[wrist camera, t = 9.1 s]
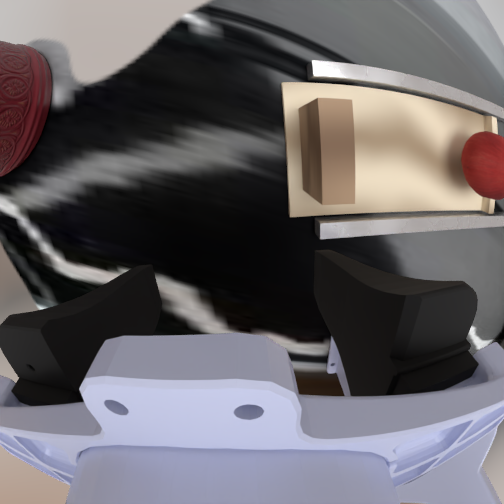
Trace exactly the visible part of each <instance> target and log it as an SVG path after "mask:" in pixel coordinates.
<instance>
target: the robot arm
mask: <svg viewBox="0 0 504 504" xmlns="http://www.w3.org/2000/svg"><path fill="white" fill-rule="evenodd" d="M314 295H315V298H316V302H317V305H318V308H319V310H320V312H321V315H322V317H323V319H324V321H325V323H326V325H327V327H328V329H329V331H330V333H331V342H330V349H329V356H328V363H327V372H328V373H329V374H331V373H337V376H338V378H339V381H340V384H341V387H342V389H343V392H344V395H345V396H315V395H299V393H298V388H297V384H296V379H295V375H294V370H293V366H292V363H291V360H290V358H289V355H288V353H287V350H286V348H284V347H283V346H281V345H279V344H278V343H276V342H274V341H273V340H271V339H270V338H268V337H266V336H261V335H252V334H244V333H224V334H205V335H176V336H153V334H154V331H155V329H156V326H157V323H158V320H159V316H160V311H161V306H162V301H161V298H160V294H159V290H158V286H157V282H156V278H155V274H154V270H153V265H140V266H137V267H135V268H133V269H131V270H129V271H127V272H125V273H123V274H122V275H120V276H118V277H116V278H115V279H113V280H111V281H110V282H108V283H106V284H104V285H102V286H101V287H99V288H97V289H95V290H93V291H91V292H89V293H87V294H85V295H83V296H81V297H78V298H76V299H74V300H71V301H68V302H65V303H62V304H60V305H57V306H53V307H50V308H46V309H42V310H38V311H33V312H26V313H20V314H13V315H10V316H8V317H7V318H6V320H5V321H4V322H3V323H2V324H1V325H0V348H1V350H2V351H3V354H4V355H5V357H6V358H7V360H8V362H9V363H10V365H11V366H12V368H13V369H14V371H15V372H16V374H17V375H18V377H19V379H18V381H17V383H15V382H14V381H13V380H11V379H9V378H7V377H4V376H1V375H0V445H1V446H2V447H3V448H4V449H5V450H6V451H8V452H9V453H10V454H12V455H14V456H15V457H17V458H19V459H21V460H23V461H24V462H26V463H27V464H29V465H31V466H33V467H35V468H36V469H38V470H40V471H42V472H44V473H46V474H47V475H50V476H51V477H53V478H56V479H58V480H59V481H61V482H64V483H66V484H68V485H70V489H69V493H68V496H67V500H66V504H400V502H405V503H426V504H502V503H501V501H500V499H499V497H498V495H497V493H496V491H495V489H494V487H493V486H492V484H491V482H490V480H489V478H488V476H487V475H486V473H485V471H484V469H483V467H482V463H483V461H484V459H485V457H486V455H487V453H488V451H489V449H490V447H491V444H492V442H493V440H494V438H495V435H496V432H497V426H498V425H499V424H500V423H501V422H502V420H503V419H504V349H503V348H502V347H501V346H500V345H499V344H498V343H497V342H494V343H492V344H490V345H488V346H486V347H484V348H482V349H480V350H478V351H477V352H476V353H475V354H474V355H473V356H472V355H471V354H470V352H469V351H468V350H469V349H470V347H471V345H470V343H469V342H468V341H467V340H466V337H467V335H468V333H469V330H470V328H471V325H472V323H473V320H474V317H475V314H476V311H477V301H478V299H477V295H476V292H475V291H474V290H473V288H471V287H470V286H469V285H468V284H466V283H465V282H464V281H432V280H421V279H414V278H409V277H403V276H399V275H394V274H391V273H387V272H384V271H381V270H378V269H375V268H372V267H369V266H367V265H364V264H362V263H359V262H357V261H355V260H353V259H350V258H348V257H346V256H344V255H341V254H339V253H337V252H334V251H331V250H319V251H315V262H314ZM332 363H333V364H332Z"/></svg>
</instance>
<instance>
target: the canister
mask: <svg viewBox="0 0 504 504" xmlns="http://www.w3.org/2000/svg"><path fill="white" fill-rule="evenodd" d="M51 90H52V80H51V72H50V68H49V65H48V62H47V61H46V59H45V58H44V56H43V55H42V54H40V53H39V52H37V51H36V50H35V49H34V48H32V47H29V46H26V45H23V44H17V45H15V44H11V43H7V42H3V41H0V177H1V176H4V175H6V174H7V173H9V172H10V171H12V170H14V169H16V168H17V167H18V166H20V165H21V164H22V163H23V162H24V161H25V160H26V159H27V157H28V156H29V155H30V153H31V152H32V150H33V149H34V147H35V145H36V143H37V142H38V139H39V137H40V135H41V133H42V130H43V128H44V125H45V122H46V118H47V115H48V111H49V106H50V100H51Z"/></svg>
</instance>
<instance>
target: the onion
mask: <svg viewBox="0 0 504 504" xmlns="http://www.w3.org/2000/svg"><path fill="white" fill-rule="evenodd" d="M461 163H462V168H463V173H464V176H465V179H466V181H467V182H468V184H469V186H470V187H471V188H472V189H473V190H474V191H475V192H476V193H477V194H479V195H480V196H481V197H485V198H489V199H493V200H500V199H503V198H504V137H502V136H500V135H497V134H495V133H493V132H489V131H483V132H478V133H475V134H473V135H472V136H471V137H470V138H469V139H468V140H467V141H466V143H465V145H464V148H463V150H462V156H461Z"/></svg>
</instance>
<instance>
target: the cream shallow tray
mask: <svg viewBox="0 0 504 504" xmlns="http://www.w3.org/2000/svg"><path fill="white" fill-rule="evenodd" d="M281 89H282V101H283V114H284V127H285V142H286V159H287V178H288V200H289V216H290V217H302V216H317V215H334V214H353V213H375V212H402V211H445V210H482V211H484V212H486V213H488V214H493V212H494V204H495V200H493V199H489V198H485V197H481V196H480V195H479V194H477V193H476V192H475V191H474V190H473V189H472V188H471V187H470V186H469V184H468V182H467V181H466V179H465V176H464V173H463V168H462V163H461V156H462V150H463V148H464V145H465V143H466V141H467V140H468V139H469V138H470V137H471V136H472V135H473V134H475V133H478V132H483V131H489V132H493V133H495V134H497V135H498V133H497V118H495V117H493V116H483V115H480V114H478V113H475V112H472V111H469V110H466V109H463V108H460V107H456V106H453V105H450V104H446V103H442V102H439V101H435V100H431V99H427V98H423V97H418V96H414V95H409V94H404V93H399V92H393V91H387V90H381V89H374V88H367V87H359V86H350V85H339V84H324V83H297V82H282V83H281Z"/></svg>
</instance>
